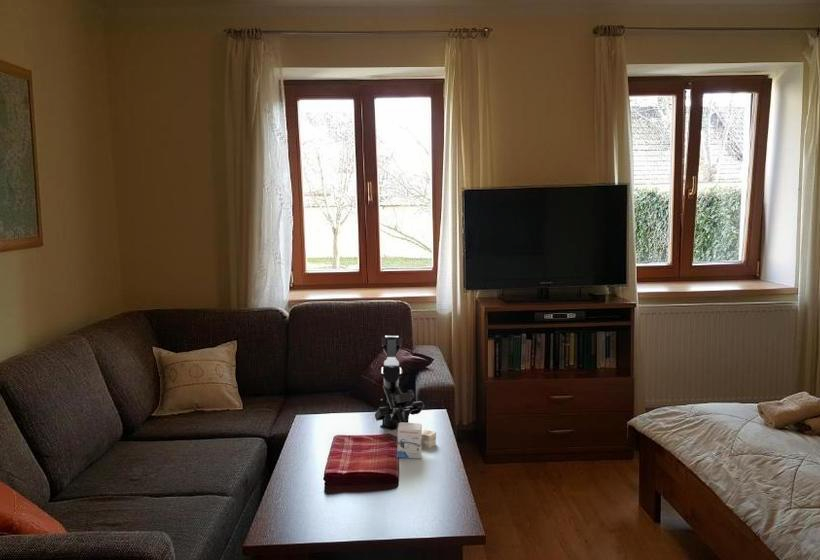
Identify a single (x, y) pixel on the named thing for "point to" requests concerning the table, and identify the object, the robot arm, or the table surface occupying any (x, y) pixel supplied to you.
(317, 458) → the table surface
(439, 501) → the table surface
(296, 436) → the table surface
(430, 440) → the birch block
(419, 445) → the ink box
